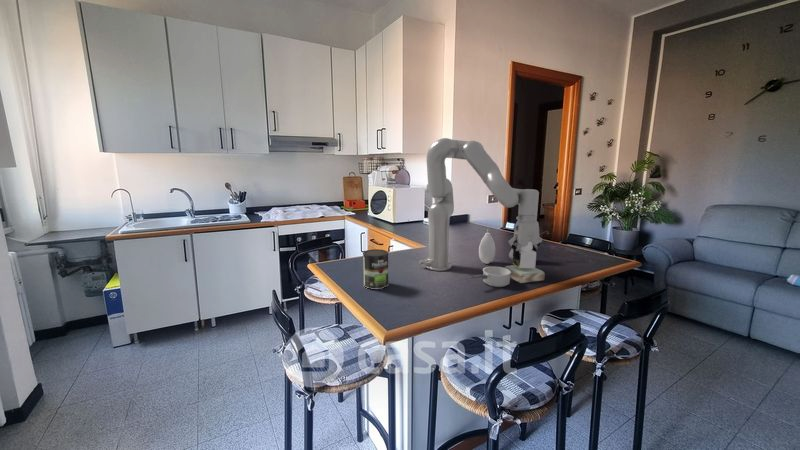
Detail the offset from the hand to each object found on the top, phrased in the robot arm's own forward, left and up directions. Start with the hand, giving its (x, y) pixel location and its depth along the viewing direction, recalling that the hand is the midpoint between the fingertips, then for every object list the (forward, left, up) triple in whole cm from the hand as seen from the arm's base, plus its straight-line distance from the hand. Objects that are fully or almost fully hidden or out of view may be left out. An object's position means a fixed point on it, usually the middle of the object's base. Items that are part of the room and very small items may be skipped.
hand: (524, 258), depth 145 cm
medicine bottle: (0, 0, -4) cm, 4 cm away
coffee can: (-64, +10, -9) cm, 65 cm away
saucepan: (-20, -4, -9) cm, 22 cm away
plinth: (0, 0, -9) cm, 9 cm away
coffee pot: (+18, +20, -9) cm, 28 cm away
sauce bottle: (-5, +22, -9) cm, 24 cm away
